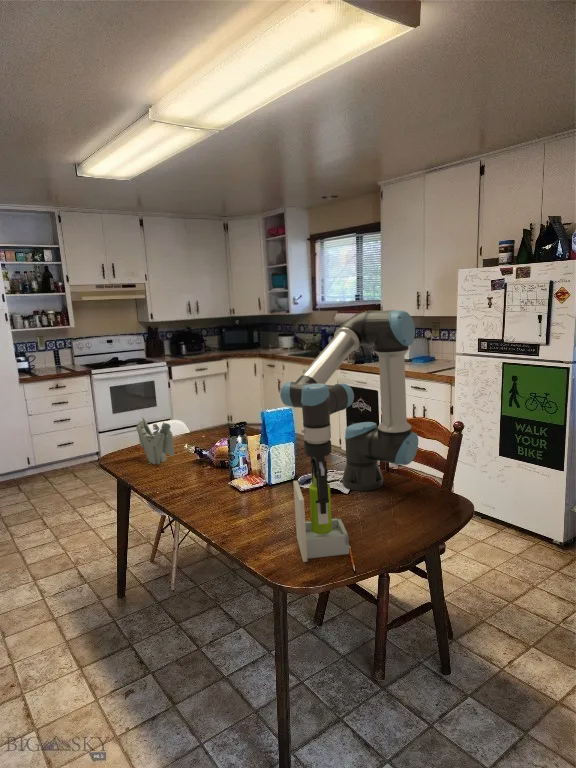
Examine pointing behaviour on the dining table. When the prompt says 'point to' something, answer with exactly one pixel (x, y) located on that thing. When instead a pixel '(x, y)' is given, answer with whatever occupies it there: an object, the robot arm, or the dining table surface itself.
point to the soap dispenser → (314, 510)
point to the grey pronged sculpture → (156, 441)
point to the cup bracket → (318, 543)
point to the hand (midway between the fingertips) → (321, 517)
